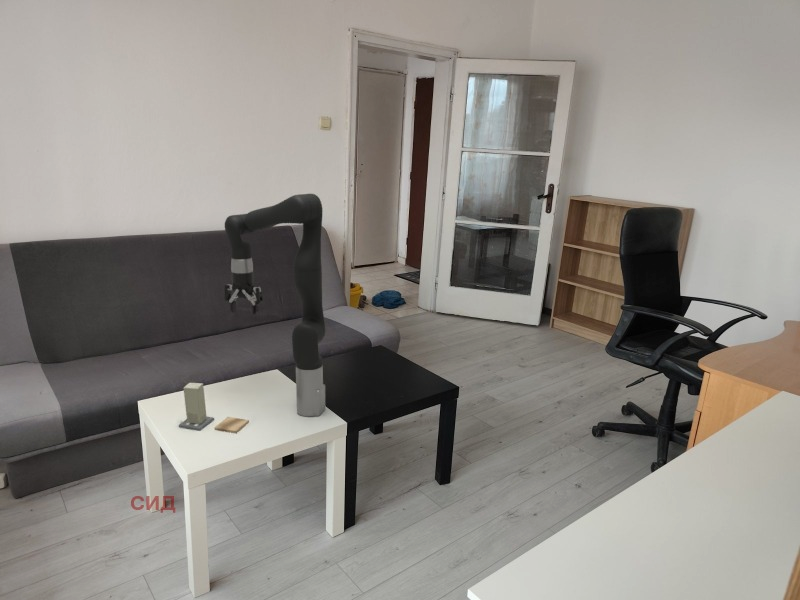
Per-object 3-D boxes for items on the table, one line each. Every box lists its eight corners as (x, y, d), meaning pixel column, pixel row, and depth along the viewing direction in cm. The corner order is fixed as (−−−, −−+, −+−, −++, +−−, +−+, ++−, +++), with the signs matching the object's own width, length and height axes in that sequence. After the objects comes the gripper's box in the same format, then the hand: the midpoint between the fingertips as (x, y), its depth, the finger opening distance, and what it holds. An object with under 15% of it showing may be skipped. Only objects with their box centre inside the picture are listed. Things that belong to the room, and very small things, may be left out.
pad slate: (214, 419, 189) (213, 417, 189) (200, 430, 182) (199, 428, 182) (193, 416, 191) (193, 413, 191) (178, 427, 184) (178, 424, 183)
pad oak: (249, 422, 188) (248, 420, 188) (236, 433, 181) (236, 431, 180) (227, 418, 190) (227, 416, 190) (214, 429, 183) (214, 427, 182)
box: (207, 418, 188) (204, 383, 185) (201, 424, 184) (198, 388, 180) (192, 417, 189) (189, 381, 185) (185, 423, 184) (182, 387, 181)
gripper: (265, 269, 203) (266, 312, 208) (230, 266, 207) (232, 308, 211) (254, 273, 196) (256, 318, 201) (218, 270, 200) (221, 314, 204)
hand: (244, 313), depth 206 cm, fingers open, 8 cm apart
